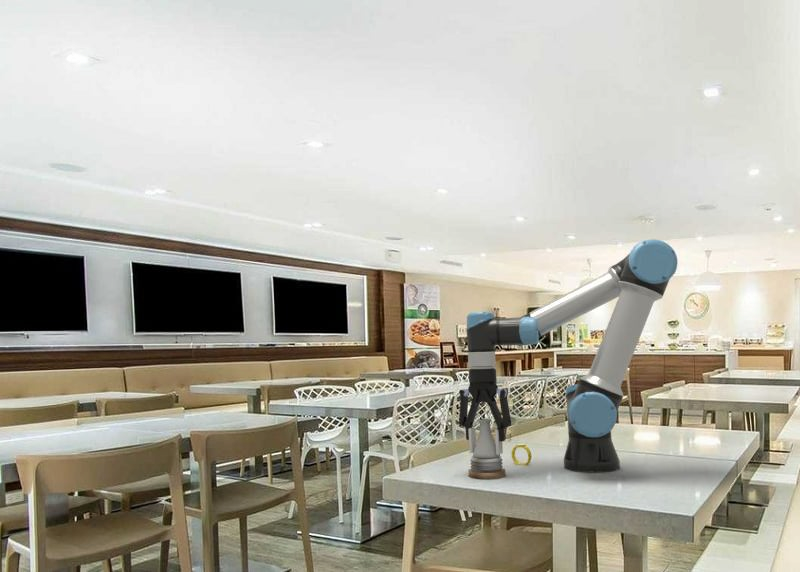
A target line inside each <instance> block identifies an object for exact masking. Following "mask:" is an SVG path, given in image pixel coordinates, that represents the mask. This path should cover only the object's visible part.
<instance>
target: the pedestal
mask: <svg viewBox="0 0 800 572" xmlns="http://www.w3.org/2000/svg"><path fill="white" fill-rule="evenodd" d="M469 460H470V468H469V469H468V472H467V476H468V477H469V478H471V479H474V480H498V479H503V478H505V477H507V476H506V475H507V473H506V471H507V470H506V469H505V468H504V466H503V458H502V456H501V455H500V456H499V457H495V458H477V457H473V455H472V456H471V458H470V459H469Z"/></svg>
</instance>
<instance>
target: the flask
mask: <svg viewBox="0 0 800 572" xmlns="http://www.w3.org/2000/svg"><path fill="white" fill-rule="evenodd" d="M491 421H492V419H489V418H481V419H478V423H479V433H478V438H477V439H476V447H475V450H474V453H472V456H473V457H477V458H495V457H499V456H501V454H499V455H497V454H496V440H495V439H494V435H493V433H492V429H491Z"/></svg>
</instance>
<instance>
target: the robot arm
mask: <svg viewBox="0 0 800 572" xmlns="http://www.w3.org/2000/svg"><path fill="white" fill-rule="evenodd" d="M677 268H678V256H677V254H676V252H675V250H674V248H672V246H671V245H670V244H668V243H667V242H665V241H664V240H660V239H653V238H652V239H645V240H642V241H641V242H638V243H636V244H635V245H634V246H633V247H632V249H631V250H630V252H629V253H628V254H627V255H626V256H625V257H624V258H623V259H621V260H620V261H619V262H617V263H616V264H614V265H611V266H609V268H608V271H606V273H604V274H602V275H600V276H598V277H596V278H594V279H592V280H590V281H588V282H586V283H584V284H583V285H581V286H578V287H577V288H575V289H573V290H571V291H568V292H567V293H565V294H564V295H561V296H559V297H557V298H555V299H553V300H551V301H549V302H548V303H545V304H544V305H541V306H540V307H538V308H536V309H534V310H532V311H531V312H529V313H526V314H524V315H522V316H520V317H519V316H518V317H507V318H506V317H505V318H503V317H502V318H497V317H495V315H494V312H492V311H473V312H469V313H468V314H467V316H466V339H467V340H466V341H467V343H466V344H467V359H468V360H467V363H468V364H467V365H468V367H469V368H470V369H469V370H468V382H469V385H468V388H466V389H465V388H464V389H460V390H459V391H458V392H459V398H460V400H459V401H460V405H459V414H458V415H459V417H458V425H459V426H462V427H464V428H465V439H466V440H467V441H468V446H469V451H468V452H469V454H473V453H474V450H475V447H476V444H477V439H476V427H474V422H475V419H476V416H477V413H478V409H479V406H480V405H481V403H486V404H487V406H488V407H489V409H490V411H491V414H492V417H493V420H494V422H495V424H496V426H497V427H496V429H494V433H495V434H494V436H495V439H494V440H495V444H496V454H497V455H499V454H500V455H501V454H503V452H504V449H503V442H505V441H506V429H507V428H509V427H511V426H512V420H511V414H510V408H509V407H510V406H509V402H508V394H509V391H508V389H506V388H505V389H503V388H499V387H498V385H497V369H496V368H494V367H496V363H497V361H496V346H517V347H521V346H522V347H523V346H530V345H537V344H538V343H539V340H540V337H541V336H544V335H545V334H547V333H550V332H552V331H553V330H555V329H557V328H558V329H559V328H560V327H561V326H563V325H566V324H567V323H569V322H572V321H573V320H575V319H577V318H579V317H581V316H584V315H586V314H587V313H589V312H592V311H593V310H595V309H597V308H600V307H601V306H603V305H605V304H607V303H609V302H611V301H613V300H615V299H617V301H616V302H615V306H614V308H613V311H612V313H611V315H610V316H611V317H610V318H609V320H608V323H607V325H606V329H605V331H604V334H603V337H602V338H601V342H600V344H599V346H598V349H597V351H596V354H595V356H594V359H593V361H592V364H591V366H590V369H589V371H588V373H587V374H586V375H584V376H581V377H580V378H579V381H578V383H577V384H570V385H568V386H567V387H566V389H565V390H566V391H565V399H566V414H567V415H566V416H567V430H568V431H567V433H568V434H567V435H568V442H567V445H566V450H565V453H564V456H563V457H564V458H563V468H564V469H567V470H571V471H575V472H582V473H584V472H586V473H604V472H605V473H606V472H615V471H618V470H619V469H620V468H621V464H620V463H621V462H620V459H619V456H618V453H617V450H616V448H615V445H614V442H613V440H612V430H613V428H614V427H615V426H616V423H617V418H618V412H619V408H620V406H621V404H622V400H623V398H624V393H623V390H622V387H621V386H622V384H623V381H624V379H625V377H626V373H627V371H628V368H629V366H630V364H631V360H632V358H633V356H634V354H635V351H636V348H637V346H638V343H639V341H640V338H641V335H642V333H643V331H644V328H645V326H646V323H647V320H648V318H649V315H650V313H651V310H652V307H653V305H654V303H655V302H656V301H659V300H660V299H661V300H662V299H663V297H664V294H665V292H666V289H667V287H668V283H669V282H670V279H671V278H672V277H673V276H674V275H675V274H676V271H677ZM496 395H498V397H499V404H500V409H499V407H498V403H497V399H496ZM469 396H471V397H472V399H471V401H470V407H469ZM468 407H469V408H468ZM468 409H469V411H468ZM500 411H501V412H500Z"/></svg>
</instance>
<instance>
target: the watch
mask: <svg viewBox="0 0 800 572" xmlns="http://www.w3.org/2000/svg"><path fill="white" fill-rule="evenodd" d="M518 448H523V449H524V450H525V451H526V452H527V460H526V462H519V461H518V460H517V458H516V450H517V449H518ZM511 459H512V461H513V463H514V464H515V465H517V464H518V465H519V466H521V465H522V466H528V465H529V464H530V463H531V461H532V453H531V451H530V448H529V447H528V446H527V445H526V444H525V443H517V444H516V445H515V446H514V447H513V448H512V451H511ZM527 464H528V465H527ZM518 465H517V466H518Z"/></svg>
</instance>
